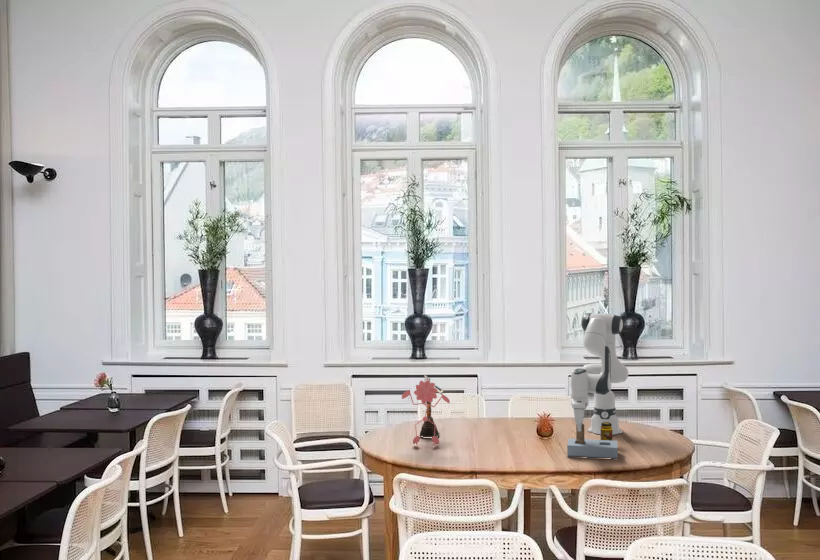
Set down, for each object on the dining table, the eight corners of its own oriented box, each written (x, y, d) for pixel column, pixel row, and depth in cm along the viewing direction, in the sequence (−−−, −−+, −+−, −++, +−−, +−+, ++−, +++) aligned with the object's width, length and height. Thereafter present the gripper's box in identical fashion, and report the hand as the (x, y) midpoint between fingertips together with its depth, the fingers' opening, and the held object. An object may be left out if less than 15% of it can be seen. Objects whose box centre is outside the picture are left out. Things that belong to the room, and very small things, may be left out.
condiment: (610, 448, 369) (610, 425, 368) (594, 446, 374) (594, 423, 373) (615, 445, 375) (615, 422, 375) (599, 442, 380) (599, 420, 379)
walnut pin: (576, 451, 361) (576, 423, 360) (584, 451, 360) (584, 423, 359) (576, 453, 357) (575, 425, 356) (584, 453, 356) (584, 425, 355)
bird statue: (448, 433, 406) (447, 372, 405) (448, 438, 393) (447, 375, 392) (419, 433, 407) (418, 372, 406) (418, 438, 394) (417, 376, 393)
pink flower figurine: (449, 449, 371) (448, 382, 370) (401, 448, 374) (399, 382, 373) (451, 441, 386) (451, 377, 385) (404, 441, 390) (403, 377, 389)
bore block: (568, 449, 366) (568, 438, 366) (617, 452, 360) (617, 440, 360) (567, 457, 353) (567, 445, 353) (617, 460, 347) (617, 448, 346)
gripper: (574, 397, 368) (574, 423, 369) (572, 405, 349) (572, 433, 349) (586, 397, 367) (586, 424, 367) (585, 406, 347) (585, 434, 348)
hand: (579, 428), depth 358 cm, fingers open, 8 cm apart
